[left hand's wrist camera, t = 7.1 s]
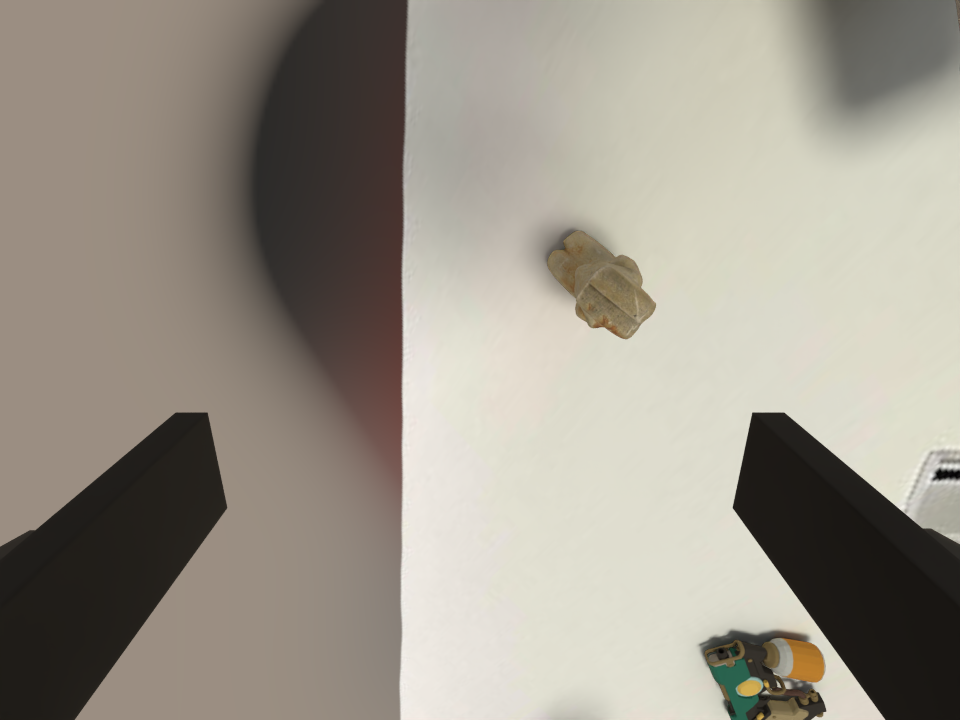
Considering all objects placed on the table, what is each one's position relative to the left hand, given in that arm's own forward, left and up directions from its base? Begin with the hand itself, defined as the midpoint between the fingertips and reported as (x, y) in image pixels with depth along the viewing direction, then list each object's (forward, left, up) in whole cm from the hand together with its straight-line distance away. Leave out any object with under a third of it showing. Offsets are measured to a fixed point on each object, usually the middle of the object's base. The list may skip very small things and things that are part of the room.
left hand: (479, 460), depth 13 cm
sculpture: (+2, +10, -38) cm, 39 cm away
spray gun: (+53, +38, -38) cm, 76 cm away
